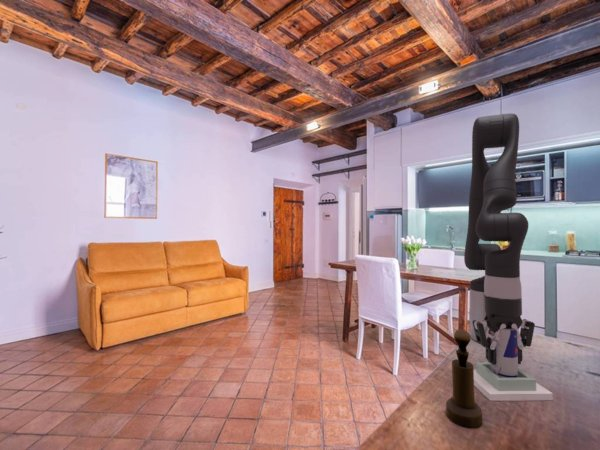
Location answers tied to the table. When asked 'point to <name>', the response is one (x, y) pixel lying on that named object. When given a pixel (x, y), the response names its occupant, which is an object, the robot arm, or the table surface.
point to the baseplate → (508, 385)
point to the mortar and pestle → (463, 387)
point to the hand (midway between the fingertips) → (503, 362)
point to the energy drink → (506, 354)
